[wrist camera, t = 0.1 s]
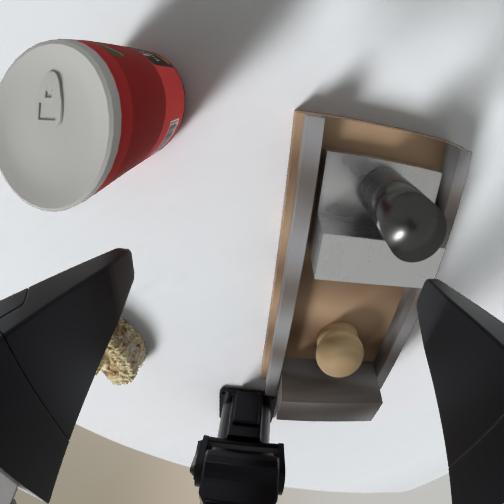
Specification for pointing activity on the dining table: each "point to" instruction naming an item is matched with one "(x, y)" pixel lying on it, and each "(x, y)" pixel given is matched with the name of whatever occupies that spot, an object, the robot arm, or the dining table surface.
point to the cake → (123, 354)
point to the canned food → (83, 118)
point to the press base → (336, 292)
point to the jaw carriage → (376, 221)
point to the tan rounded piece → (339, 349)
